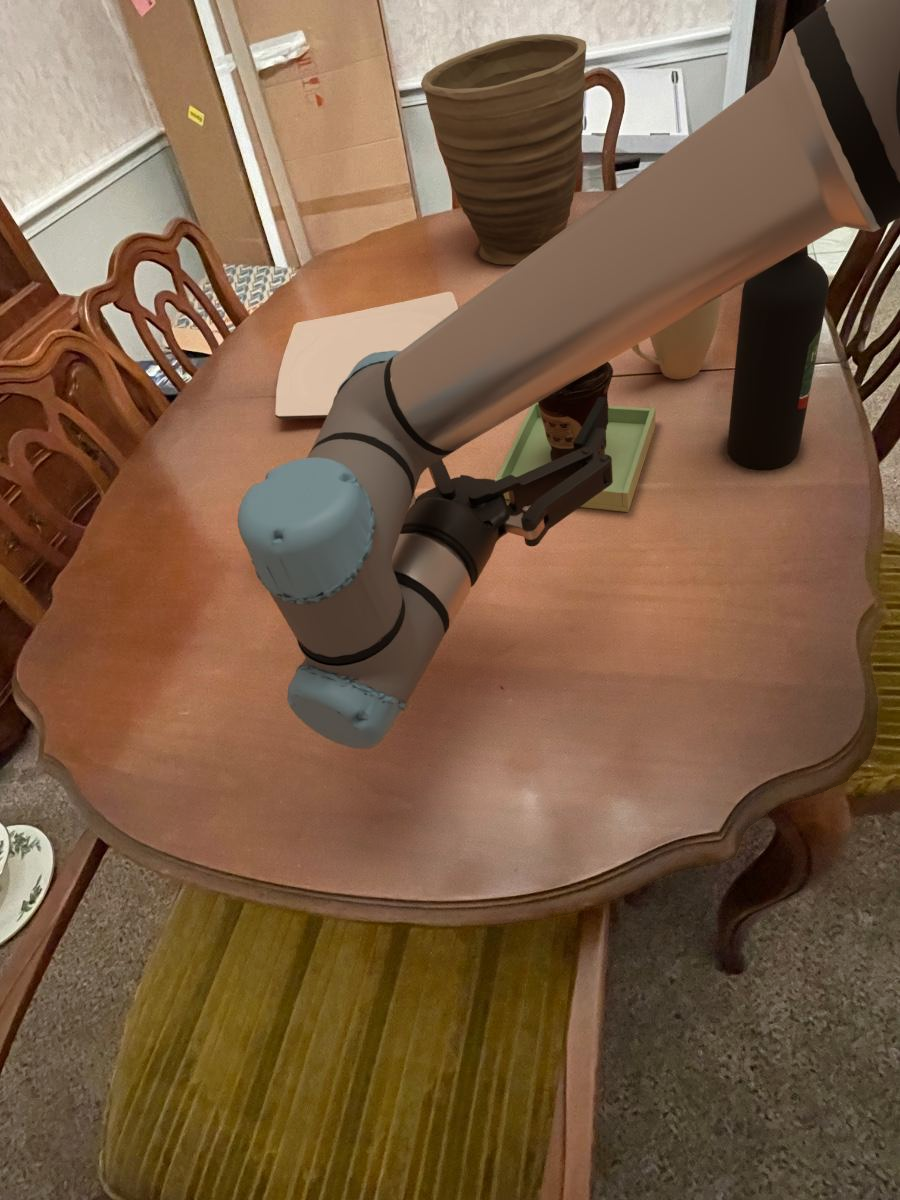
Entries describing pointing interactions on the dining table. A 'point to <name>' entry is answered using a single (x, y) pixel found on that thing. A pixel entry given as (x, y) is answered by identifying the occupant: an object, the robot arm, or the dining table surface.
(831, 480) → the dining table surface
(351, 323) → the plate
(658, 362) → the mug
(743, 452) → the wine bottle
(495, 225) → the vase
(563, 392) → the coffee cup
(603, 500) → the tray
